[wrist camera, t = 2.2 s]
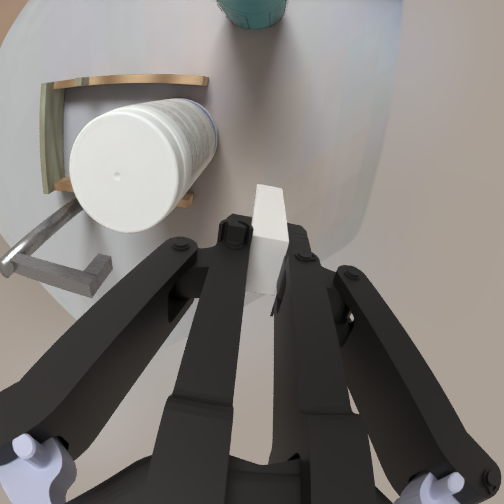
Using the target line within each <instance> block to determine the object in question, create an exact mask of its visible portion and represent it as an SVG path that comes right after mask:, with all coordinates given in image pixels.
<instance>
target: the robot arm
mask: <svg viewBox="0 0 504 504" xmlns="http://www.w3.org/2000/svg"><path fill="white" fill-rule="evenodd" d="M276 288H277V295H276V298H275V302H274V305H273V308H272V312H271V315H270V316H273V314H274V398H273V443H272V450H271V454H270V457H269V462H268V465H258V464H255V463H252V462H249V461H246V460H243V459H240V458H237V457H234V456H231V455H229V451H230V442H231V431H232V423H233V396H234V385H235V378H236V369H237V359H238V350H239V342H240V333H241V323H242V315H243V306H244V297H245V291H248V292H254V293H260V294H266V295H272V296H274V295H275V291H276ZM194 298H200V299H199V302H198V305H197V309H196V312H195V316H194V319H193V322H192V326H191V329H190V333H189V336H188V340H187V343H186V347H185V350H184V354H183V358H182V361H181V365H180V369H179V372H178V376H177V380H176V383H175V387H174V390H173V393H172V395H170V396H169V397H168V399H167V401H166V404H165V407H164V411H163V415H162V419H161V422H160V426H159V430H158V434H157V438H156V442H155V446H154V451H153V454H152V455H151V456H148V457H145V458H142V459H140V460H138V461H136V462H134V463H132V464H131V465H130V466H128V467H126V468H125V469H123V470H122V471H120V472H118V473H117V474H115V475H114V476H112V477H110V478H109V479H107V480H105V481H104V482H102V483H100V484H99V485H97V486H95V487H94V488H92V489H90V490H88V491H87V492H85V493H83V494H81V495H80V496H78V497H76V498H74V499H72V500H70V501H68V502H66V500H65V499H66V498H65V496H66V493H67V490H68V489H69V488H70V486H71V485H72V484H73V483H74V481H75V478H76V474H77V471H76V470H77V469H76V465H75V462H74V460H76V459H77V458H78V457H79V456H80V455H81V454H82V453H83V452H84V451H85V450H87V449H88V448H89V446H90V445H91V444H92V442H93V441H94V440H95V438H96V437H97V436H98V434H99V433H100V432H101V430H102V429H103V427H104V426H105V424H106V423H107V422H108V420H109V419H110V417H111V416H112V414H113V413H114V411H115V410H116V409H117V407H118V406H119V404H120V403H121V401H122V400H123V399H124V397H125V396H126V394H127V393H128V392H129V390H130V389H131V387H132V386H133V385H134V383H135V382H136V380H137V379H138V377H139V376H140V375H141V373H142V372H143V371H144V369H145V368H146V366H147V365H148V364H149V362H150V361H151V359H152V358H153V356H154V355H155V354H156V352H157V351H158V350H159V348H160V347H161V346H162V344H163V343H164V341H165V340H166V339H167V337H168V336H169V334H170V333H171V332H172V330H173V329H174V328H175V326H176V325H177V324H178V322H179V321H180V319H181V318H182V317H183V315H184V314H185V313H186V311H187V310H188V309H189V307H190V306H191V304H192V303H193V301H194ZM351 313H352V314H353V316H354V320H353V322H352V321H351V319H350V315H351ZM347 387H348V388H347ZM348 389H349V391H350V393H351V395H352V398H353V400H354V402H355V405H356V407H357V409H358V412H359V414H355V413H353V412H352V410H351V406H350V400H349V394H348ZM368 435H369V437H370V440H371V442H372V444H373V447H374V449H375V452H376V454H377V457H378V459H379V461H380V464H381V466H382V468H383V471H384V473H385V475H386V477H387V479H388V480H389V482H390V484H391V485H392V487H393V488H394V490H395V491H396V492H397V493H398V495H399V496H400V498H398V499H397V500H396V501H395V502H394V504H479V503H481V502H483V501H485V500H487V499H489V498H491V497H492V496H494V495H495V494H496V492H497V491H498V490H499V487H500V484H501V472H500V469H499V467H498V466H497V464H496V463H495V462H494V461H493V460H492V459H491V458H490V457H489V455H488V454H487V453H486V452H485V451H484V450H483V449H482V448H481V447H480V446H479V445H478V444H477V442H475V441H474V439H473V438H472V437H471V436H470V435H469V434H468V433H467V432H466V430H465V428H464V427H463V425H462V423H461V421H460V419H459V417H458V415H457V414H456V412H455V410H454V408H453V407H452V405H451V403H450V401H449V399H448V398H447V396H446V394H445V393H444V391H443V389H442V388H441V386H440V384H439V382H438V381H437V379H436V378H435V376H434V374H433V373H432V371H431V369H430V368H429V366H428V365H427V363H426V362H425V360H424V358H423V357H422V355H421V354H420V352H419V351H418V349H417V347H416V346H415V344H414V343H413V341H412V340H411V338H410V337H409V336H408V334H407V332H406V331H405V330H404V328H403V327H402V325H401V324H400V323H399V321H398V319H397V318H396V317H395V315H394V314H393V312H392V311H391V309H390V308H389V307H388V305H387V304H386V302H385V301H384V300H383V298H382V297H381V296H380V294H379V293H378V292H377V290H376V289H375V287H374V286H373V285H372V283H371V282H370V281H369V279H368V278H367V277H366V275H365V274H364V273H363V272H362V271H360V270H359V269H357V268H355V267H353V266H348V265H343V266H340V267H338V269H337V271H336V272H333V271H331V270H328V269H326V268H324V267H322V266H321V264H320V260H319V258H318V257H317V256H316V255H315V254H314V253H312V252H311V248H310V244H309V240H308V237H307V232H306V230H305V229H304V228H303V227H302V226H300V225H295V224H290V223H287V221H286V213H285V206H284V198H283V191H282V188H277V187H272V186H267V185H261V184H257V188H256V193H255V199H254V204H253V209H252V214H251V217H248V216H242V215H236V214H232V215H230V216H229V217H227V219H225V220H223V221H221V222H220V224H219V232H218V240H217V244H216V246H213V247H210V248H198V247H197V243H196V242H194V241H193V240H191V239H189V238H185V237H175V238H170V239H168V240H167V241H165V242H164V243H163V244H162V245H160V246H159V247H158V248H157V249H156V250H154V251H153V252H152V253H151V254H150V255H149V256H147V257H146V258H145V259H144V260H143V261H142V262H141V263H139V264H138V265H137V266H136V267H135V268H134V269H133V270H131V271H130V272H129V273H128V274H127V275H126V276H125V277H124V278H122V279H121V280H120V281H119V282H118V283H117V284H116V285H115V286H114V287H112V288H111V289H110V290H109V291H108V292H107V293H106V294H105V295H104V296H103V297H102V298H101V299H99V300H98V301H97V302H96V303H95V304H94V305H93V306H92V307H91V308H90V309H89V310H88V311H87V312H86V313H85V314H84V315H83V316H82V317H81V318H80V319H78V320H77V321H76V322H75V323H74V325H72V326H71V327H70V328H69V329H68V330H67V331H66V333H64V335H62V336H61V337H60V338H59V339H58V340H57V341H56V342H55V343H54V345H52V347H51V348H50V349H49V350H48V351H47V352H46V353H45V354H44V355H43V356H42V357H41V358H40V359H39V360H38V361H37V363H35V364H34V366H33V367H32V368H31V369H30V370H29V371H28V372H27V373H26V374H25V375H24V376H23V378H22V379H21V380H20V381H19V382H17V383H15V384H13V385H11V386H10V387H8V388H6V389H4V390H3V391H1V392H0V483H1V485H2V487H3V489H4V491H5V492H6V494H7V496H8V497H9V499H10V501H11V503H12V504H393V503H392V502H391V501H390V500H389V499H388V498H387V497H386V496H385V495H384V494H383V493H382V492H381V491H380V490H379V489H378V488H377V487H376V486H375V482H374V474H373V466H372V459H371V452H370V445H369V439H368Z"/></svg>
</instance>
